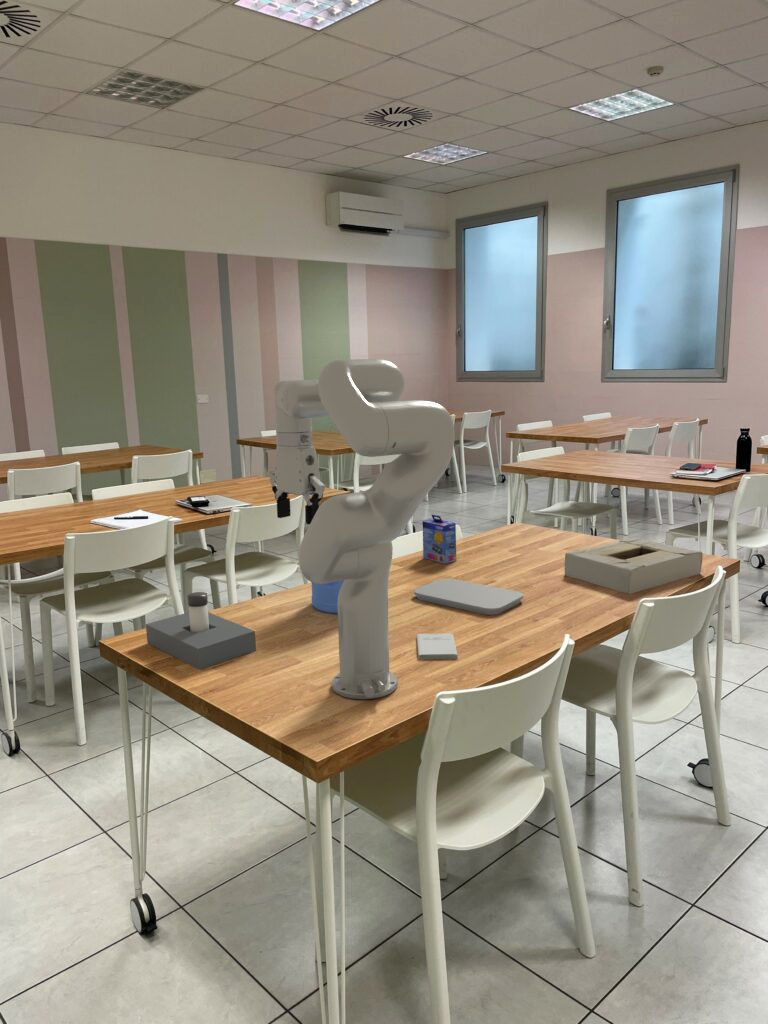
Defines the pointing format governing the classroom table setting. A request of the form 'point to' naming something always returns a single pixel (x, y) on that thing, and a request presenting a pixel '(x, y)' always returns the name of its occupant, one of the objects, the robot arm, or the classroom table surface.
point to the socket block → (201, 640)
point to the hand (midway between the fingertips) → (298, 520)
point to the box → (633, 564)
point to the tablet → (469, 596)
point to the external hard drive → (436, 646)
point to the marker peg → (198, 612)
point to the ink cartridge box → (439, 540)
